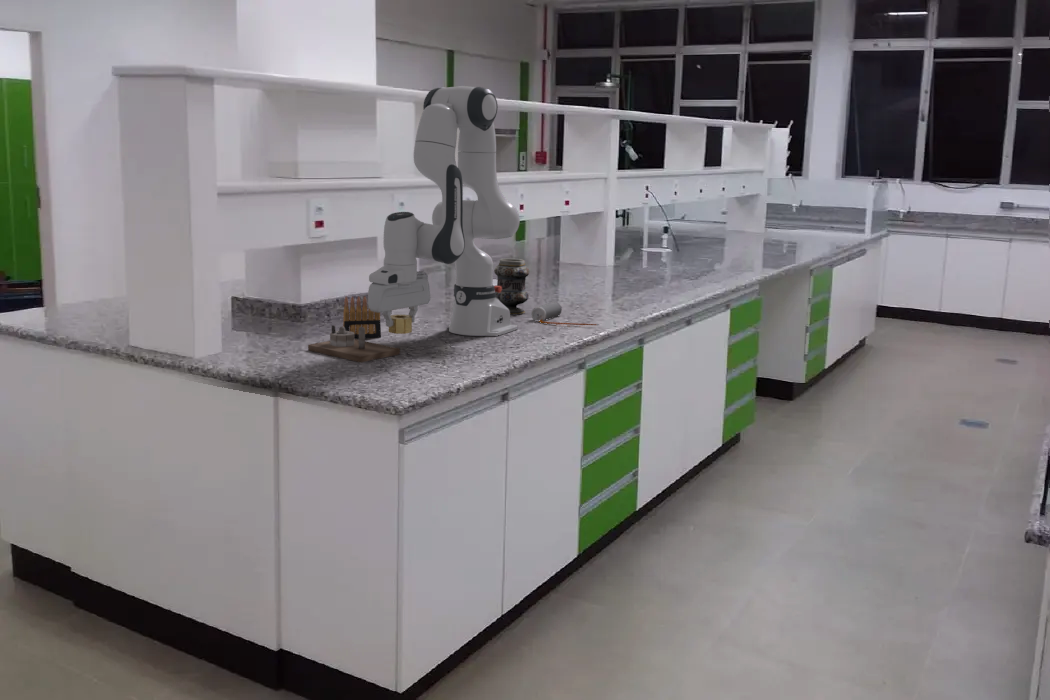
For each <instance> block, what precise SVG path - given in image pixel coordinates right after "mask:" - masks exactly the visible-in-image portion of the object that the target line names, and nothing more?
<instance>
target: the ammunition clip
mask: <svg viewBox="0 0 1050 700" xmlns="http://www.w3.org/2000/svg"><path fill="white" fill-rule="evenodd" d="M344 297H345V298H344V301H343V302H344V303H343V312H342V313H343V314H342V315H343V316H342V317H343V320H342V321H343V323H342V326H343V327H345V331H350V332H354V339H359V328H360V327H364V328H365V339H379V338H380V339H381V338H382V332H381V330H382V328H381V312H380V313H377V312H372V311H371V310H370V309H369V308H368V299H367V297H366V296H365V295H364V296H363V299H362V301H361V297H360V296H357V298H356V303H355V299H354V296H351V298H350V302H349V300H348V299H349V298H348V297H347V295H346V296H344ZM349 303H350V304H349ZM361 303H362V305H361ZM355 304H356V306H355Z"/></svg>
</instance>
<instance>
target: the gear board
mask: <svg viewBox="0 0 1050 700" xmlns="http://www.w3.org/2000/svg"><path fill="white" fill-rule="evenodd" d="M338 329H339V330H336V325H331V331H330V333H329V335H330V336H329V337H330V338H329V340H327V341H321V342H317V343H310V344H307V347H308V348H307V350H308V351H310V352H313V353H314V352H315V353H318V354H323V355H327V356H332V357H335V358H341V359H344V360H348V361H353V362H357V363H364V362H369V361H373V360H379V359H384V358H389V357H393V356H394V357H395V356H397V355H400V354H401V349H400V348H398V347H394V346H389V345H383V344H379V343H376V342H375V343H374V342H371V341H366V338H365V328H364V327H360V328H359V338H356V339H354V332H350V330H349V331H345V327H343V325H342V326H340V327H338Z"/></svg>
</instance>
